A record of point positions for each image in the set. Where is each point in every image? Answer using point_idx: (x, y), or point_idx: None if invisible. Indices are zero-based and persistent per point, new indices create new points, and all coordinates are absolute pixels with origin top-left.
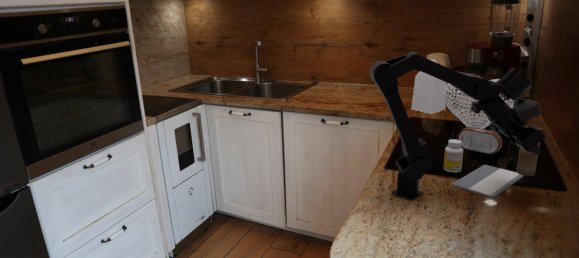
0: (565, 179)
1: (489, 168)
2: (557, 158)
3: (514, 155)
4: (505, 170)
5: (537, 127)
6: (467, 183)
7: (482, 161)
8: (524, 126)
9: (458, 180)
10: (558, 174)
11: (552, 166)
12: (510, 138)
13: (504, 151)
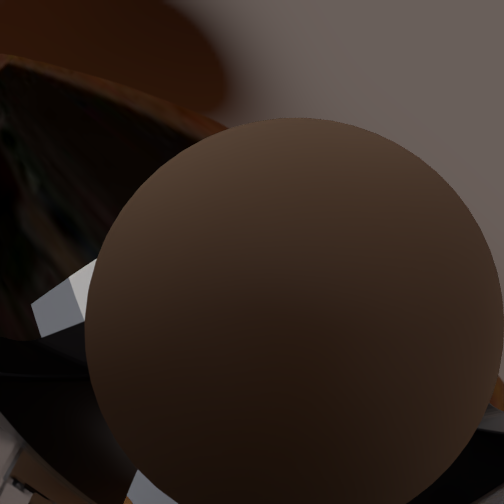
0: (204, 133)
1: (57, 314)
2: (96, 82)
3: (29, 159)
4: (87, 272)
5: (280, 139)
6: (158, 490)
7: (11, 279)
8: (95, 389)
9: (129, 496)
10: (168, 128)
11: (121, 112)
12: (127, 470)
13: (5, 169)
